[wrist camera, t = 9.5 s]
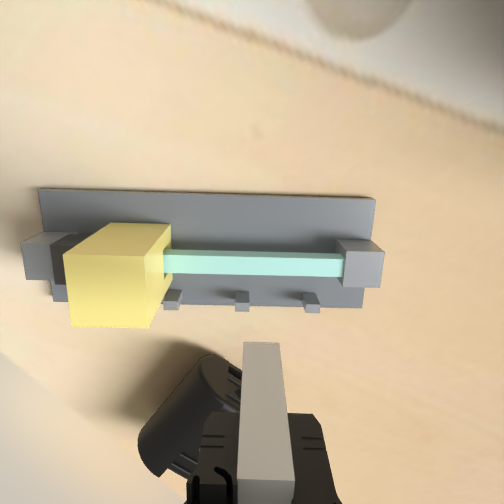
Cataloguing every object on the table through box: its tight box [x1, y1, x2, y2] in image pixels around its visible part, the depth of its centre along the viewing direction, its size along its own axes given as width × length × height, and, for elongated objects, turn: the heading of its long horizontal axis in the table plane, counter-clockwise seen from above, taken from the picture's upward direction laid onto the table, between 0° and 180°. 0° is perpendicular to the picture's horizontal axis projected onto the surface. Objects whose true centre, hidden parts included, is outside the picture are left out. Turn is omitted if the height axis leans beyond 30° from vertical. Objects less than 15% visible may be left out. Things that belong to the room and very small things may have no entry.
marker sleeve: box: [63, 222, 173, 328], centre depth 28 cm, size 5×5×9 cm
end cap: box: [138, 355, 242, 479], centre depth 35 cm, size 10×7×7 cm
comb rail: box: [20, 189, 385, 313], centre depth 31 cm, size 10×28×5 cm, turn 88°
